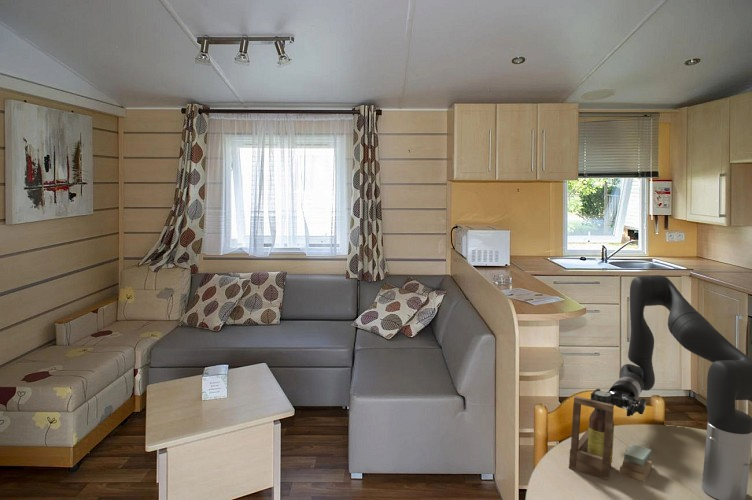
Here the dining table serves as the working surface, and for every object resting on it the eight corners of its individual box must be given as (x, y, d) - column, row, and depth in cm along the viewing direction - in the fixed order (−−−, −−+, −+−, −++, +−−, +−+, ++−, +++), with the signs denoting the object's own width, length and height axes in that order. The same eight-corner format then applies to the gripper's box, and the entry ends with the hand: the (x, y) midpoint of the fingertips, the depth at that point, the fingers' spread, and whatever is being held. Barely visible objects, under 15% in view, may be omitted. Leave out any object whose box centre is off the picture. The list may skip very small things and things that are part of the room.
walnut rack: (621, 456, 152) (626, 388, 150) (607, 480, 140) (612, 406, 137) (585, 446, 158) (589, 380, 155) (568, 467, 146) (572, 397, 143)
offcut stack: (651, 467, 147) (652, 448, 146) (644, 482, 139) (645, 462, 139) (626, 460, 150) (627, 441, 150) (618, 474, 143) (619, 454, 142)
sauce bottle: (613, 473, 143) (619, 399, 141) (588, 470, 144) (593, 397, 142) (608, 460, 150) (613, 390, 147) (584, 458, 151) (588, 388, 148)
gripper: (601, 374, 171) (586, 390, 158) (651, 385, 163) (640, 402, 150) (600, 398, 172) (585, 415, 159) (650, 409, 164) (638, 428, 151)
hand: (611, 409), depth 154 cm, fingers open, 8 cm apart
